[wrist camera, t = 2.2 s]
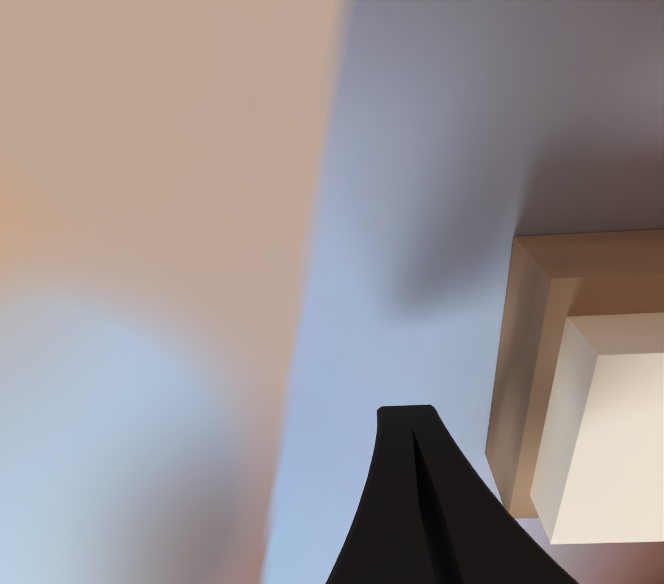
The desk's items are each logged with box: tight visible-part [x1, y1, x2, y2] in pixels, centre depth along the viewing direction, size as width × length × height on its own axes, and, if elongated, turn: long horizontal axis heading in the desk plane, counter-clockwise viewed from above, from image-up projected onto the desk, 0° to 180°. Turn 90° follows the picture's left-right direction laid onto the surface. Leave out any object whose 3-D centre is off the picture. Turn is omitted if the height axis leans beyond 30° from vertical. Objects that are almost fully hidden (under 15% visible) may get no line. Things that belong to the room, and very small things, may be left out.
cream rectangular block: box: [530, 312, 664, 544], centre depth 12 cm, size 6×4×2 cm, turn 3°
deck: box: [485, 229, 664, 518], centre depth 13 cm, size 8×5×2 cm, turn 3°
